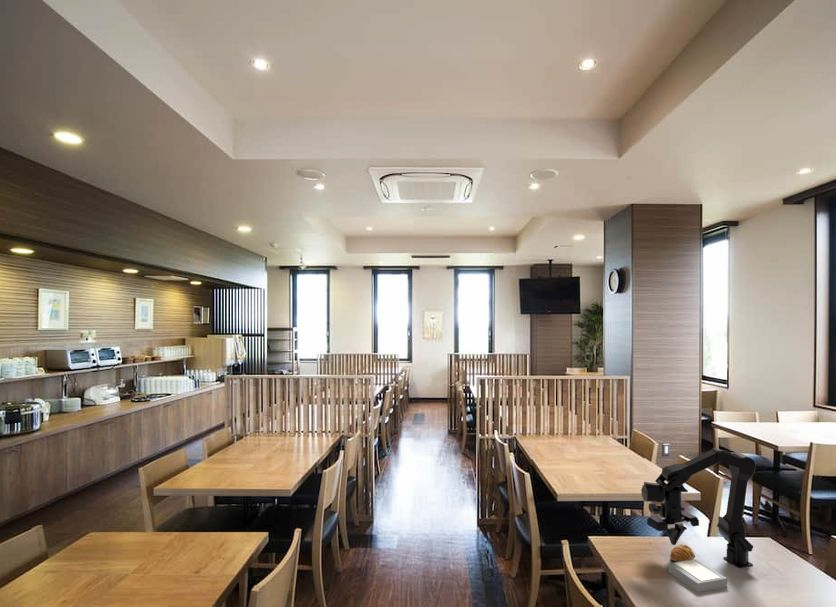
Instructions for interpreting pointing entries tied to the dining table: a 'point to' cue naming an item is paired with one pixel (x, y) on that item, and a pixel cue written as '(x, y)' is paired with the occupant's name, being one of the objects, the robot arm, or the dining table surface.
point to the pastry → (682, 553)
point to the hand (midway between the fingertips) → (673, 544)
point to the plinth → (697, 575)
